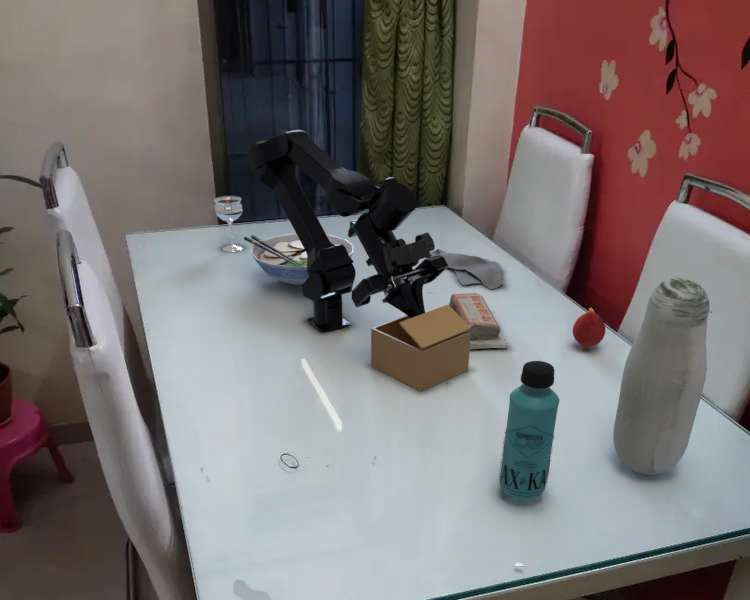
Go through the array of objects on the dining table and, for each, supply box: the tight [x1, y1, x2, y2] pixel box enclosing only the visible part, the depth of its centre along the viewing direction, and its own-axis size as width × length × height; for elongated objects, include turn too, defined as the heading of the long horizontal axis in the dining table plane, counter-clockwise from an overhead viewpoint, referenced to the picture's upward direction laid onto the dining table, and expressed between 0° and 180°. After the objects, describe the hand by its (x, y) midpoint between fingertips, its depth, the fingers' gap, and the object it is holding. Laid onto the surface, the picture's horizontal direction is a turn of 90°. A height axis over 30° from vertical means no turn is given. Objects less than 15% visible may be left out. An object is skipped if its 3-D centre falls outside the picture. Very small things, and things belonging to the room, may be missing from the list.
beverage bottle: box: [498, 360, 560, 501], centre depth 103 cm, size 6×7×20 cm
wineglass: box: [213, 195, 244, 253], centre depth 192 cm, size 7×7×12 cm
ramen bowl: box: [243, 232, 354, 287], centre depth 174 cm, size 25×23×8 cm
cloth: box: [430, 248, 503, 290], centre depth 182 cm, size 26×14×2 cm, turn 20°
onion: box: [572, 307, 606, 350], centre depth 145 cm, size 6×6×8 cm
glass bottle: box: [612, 277, 710, 476], centre depth 106 cm, size 10×10×28 cm
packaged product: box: [448, 292, 509, 350], centre depth 152 cm, size 18×5×10 cm
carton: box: [370, 314, 471, 392], centre depth 138 cm, size 13×12×7 cm
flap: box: [399, 304, 471, 349], centre depth 133 cm, size 6×12×1 cm, turn 132°
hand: (423, 323), depth 135 cm, fingers closed
